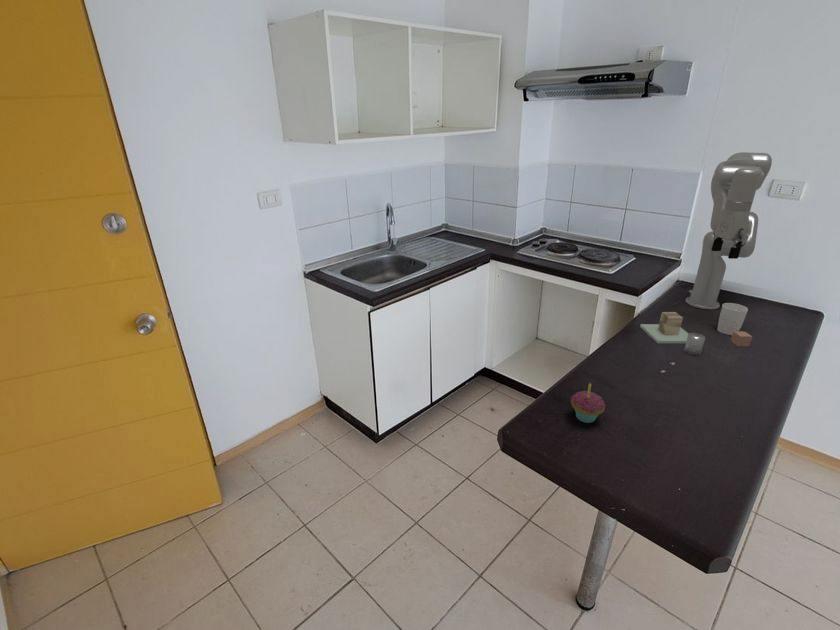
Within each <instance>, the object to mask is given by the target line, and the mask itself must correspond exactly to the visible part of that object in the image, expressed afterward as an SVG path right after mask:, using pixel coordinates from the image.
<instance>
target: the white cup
mask: <svg viewBox="0 0 840 630" xmlns="http://www.w3.org/2000/svg"><path fill="white" fill-rule="evenodd" d="M748 311H749V309H748V307H747V306H745V305H742V304H738V303H735V302H734V303H733V302H725V303H722V305H721V309H720V314H719V318H718V323H717V324H718V325H717V327H716V328H717V329H716V331H718V332H719V333H721V334H724V335H728V336H732V334H733V331H740V330H741V328H742V326H743V324H744V321H745V318H746V316H747V314H748Z"/></svg>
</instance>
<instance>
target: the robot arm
mask: <svg viewBox="0 0 840 630" xmlns="http://www.w3.org/2000/svg"><path fill="white" fill-rule="evenodd" d="M772 163H773V159H772V156H771V155H770V154H769V153H766V152H747V151H746V152H736V153H733V154H731V155H730V156H729V157H728V158H727V159H726V160H725V161H721V162H720V163H718V165H717V166H716V168H715V170H714V171H713V176H712V178H711V183H710V193H711V198H712V201H713V206H712V211H711V212H712V213H711V217H710V229H711V231H709V232H707V233H706V234H705V235H704V236H703V239H702V247H701V256H700V259H699V265H698V268H697V272H696V273H697V274H696V276H695V280H694V283H693V288H692V289H690V290H688V293H689V294H690V296H687V297H686V298H685V303H686V304H687V305H689V306H691V307H694V308H696V309H697V308H698V309H702V310H716V309H717V310H718V309H719V308H720V302H719V301H718V297H719V294H720V290H721V288H722V287H721V286H722V283H723V280H724V277H725V273H726V270H727V264H726V262H725V260H724V259H723V257H722V256H724V257H727V258H728V259H730V260H734V259H735V260H736V259H738V258H741V259H742V258H744V259H745V258H749V257H751V256H752V254H753V253H754V250H755V247H756V244H757V243H756V241H757V235H758V227H759V216H758V215H757V213H756V212H754V211H753V212H752V211H751V210H752V205H753V202H754V200H755V196H756V193H757V192H756V191H758V190H760V188H761V187H762V185H763V184H764V182H765V180H766V178H767V176H768V175H769V173H770V170H771V168H772Z"/></svg>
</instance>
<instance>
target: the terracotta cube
mask: <svg viewBox="0 0 840 630" xmlns="http://www.w3.org/2000/svg"><path fill="white" fill-rule="evenodd" d="M752 339H753V336H752V335H750V333H748V332H746V331H742V330H741V331H740V330H739V331H733V334H732V335H731V337H730V342H731V344H734V345H735V346H736V347H737V348H738V347H741V348H742V347H745V348H746V347H750V345H751V342H752Z"/></svg>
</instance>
